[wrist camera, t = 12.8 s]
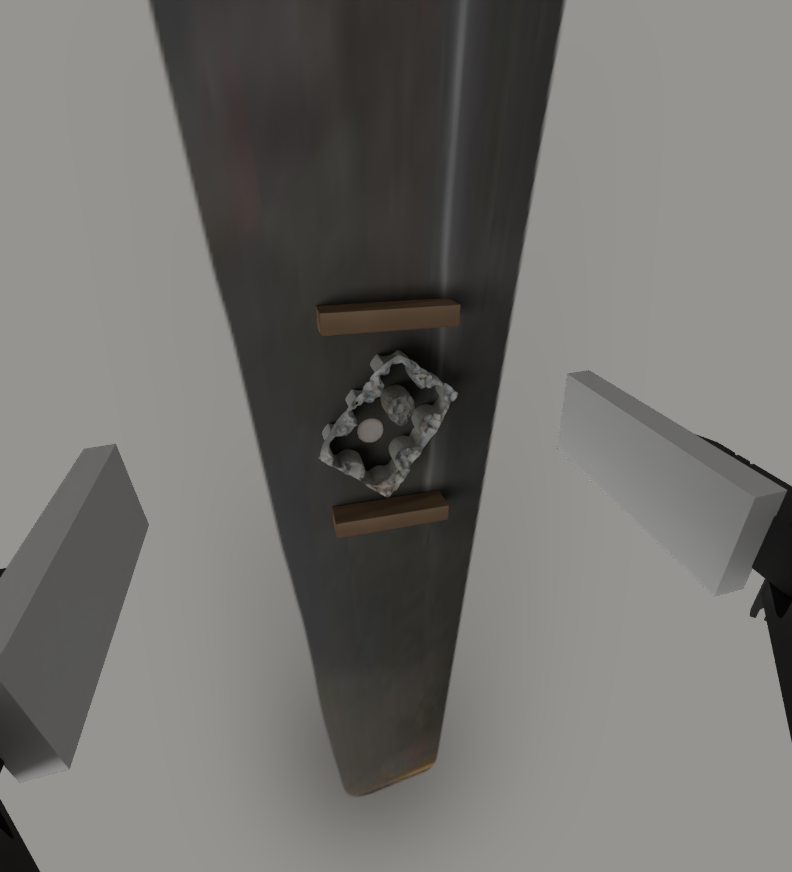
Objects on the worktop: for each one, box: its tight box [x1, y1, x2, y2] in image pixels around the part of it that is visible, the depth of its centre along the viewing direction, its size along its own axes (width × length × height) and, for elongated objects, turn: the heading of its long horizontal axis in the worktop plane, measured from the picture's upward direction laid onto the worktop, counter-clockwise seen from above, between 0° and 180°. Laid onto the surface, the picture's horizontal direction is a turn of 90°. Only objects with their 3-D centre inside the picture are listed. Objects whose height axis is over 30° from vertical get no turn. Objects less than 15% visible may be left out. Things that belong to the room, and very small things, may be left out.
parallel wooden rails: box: [316, 298, 460, 538], centre depth 38 cm, size 19×10×2 cm, turn 0°
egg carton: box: [319, 350, 458, 498], centre depth 37 cm, size 11×8×4 cm
